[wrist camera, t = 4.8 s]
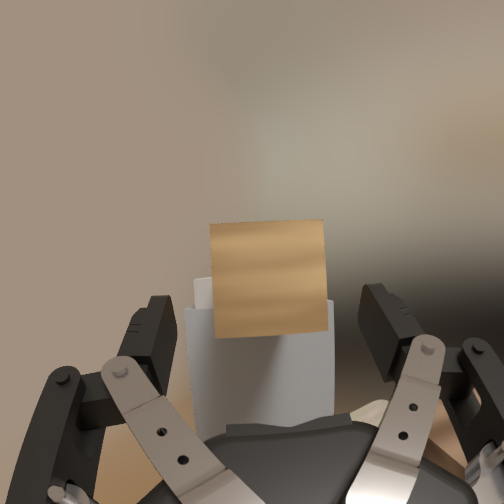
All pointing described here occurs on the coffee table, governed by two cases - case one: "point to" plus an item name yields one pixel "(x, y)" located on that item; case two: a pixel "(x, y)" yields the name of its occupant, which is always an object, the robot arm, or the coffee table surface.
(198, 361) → the grey stand
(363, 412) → the coffee table surface
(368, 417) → the coffee table surface
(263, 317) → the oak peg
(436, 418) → the walnut step
